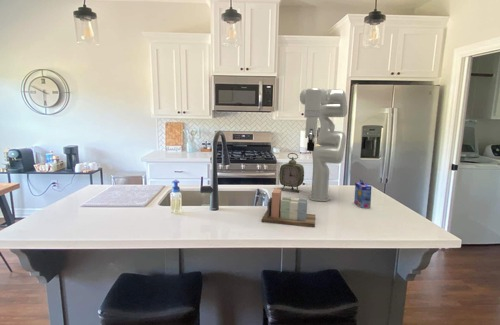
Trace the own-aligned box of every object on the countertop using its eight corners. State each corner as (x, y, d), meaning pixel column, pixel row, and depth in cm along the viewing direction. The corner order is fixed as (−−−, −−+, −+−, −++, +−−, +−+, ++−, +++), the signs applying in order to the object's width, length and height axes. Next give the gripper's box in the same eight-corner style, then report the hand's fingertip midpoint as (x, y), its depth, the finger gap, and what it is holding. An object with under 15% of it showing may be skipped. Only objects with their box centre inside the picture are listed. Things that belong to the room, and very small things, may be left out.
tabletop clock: (278, 190, 194) (280, 152, 190) (283, 187, 202) (285, 151, 198) (299, 193, 188) (301, 154, 184) (304, 190, 195) (306, 152, 191)
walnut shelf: (266, 213, 149) (267, 193, 147) (315, 217, 144) (316, 197, 142) (261, 221, 136) (262, 201, 135) (314, 227, 131) (315, 205, 130)
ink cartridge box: (353, 202, 169) (355, 178, 167) (362, 202, 170) (364, 178, 167) (360, 208, 160) (362, 182, 157) (370, 208, 160) (372, 182, 158)
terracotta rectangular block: (273, 212, 145) (274, 188, 143) (280, 213, 145) (281, 189, 143) (271, 217, 139) (271, 192, 137) (278, 217, 138) (279, 193, 136)
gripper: (305, 114, 152) (303, 147, 155) (303, 114, 135) (301, 151, 138) (320, 114, 150) (318, 148, 153) (320, 114, 134) (318, 152, 136)
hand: (310, 149), depth 146 cm, fingers open, 9 cm apart
